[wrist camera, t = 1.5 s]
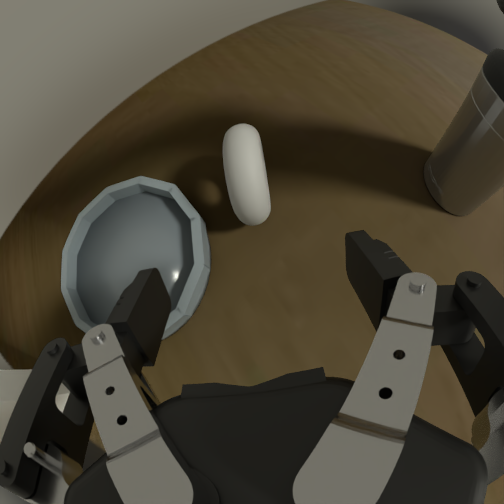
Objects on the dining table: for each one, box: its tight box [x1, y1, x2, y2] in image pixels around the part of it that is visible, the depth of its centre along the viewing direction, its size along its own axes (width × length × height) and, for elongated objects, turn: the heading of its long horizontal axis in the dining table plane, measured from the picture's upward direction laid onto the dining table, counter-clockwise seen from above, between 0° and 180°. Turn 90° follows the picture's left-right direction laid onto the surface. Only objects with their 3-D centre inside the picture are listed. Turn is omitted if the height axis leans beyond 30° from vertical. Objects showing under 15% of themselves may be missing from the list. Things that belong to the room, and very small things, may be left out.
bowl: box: [61, 176, 211, 341], centre depth 28 cm, size 19×19×3 cm
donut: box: [223, 124, 271, 225], centre depth 25 cm, size 10×4×10 cm, turn 5°
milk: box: [0, 369, 70, 443], centre depth 16 cm, size 6×6×22 cm
